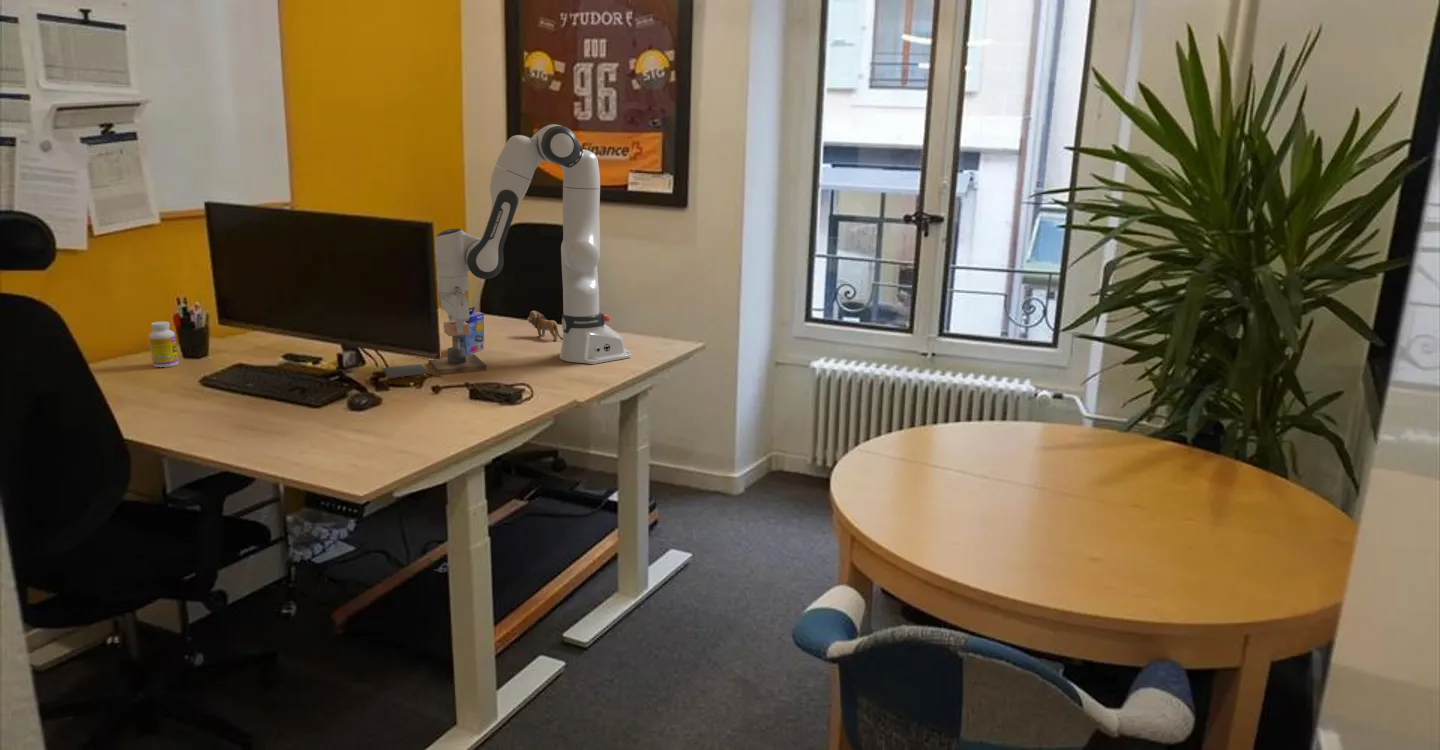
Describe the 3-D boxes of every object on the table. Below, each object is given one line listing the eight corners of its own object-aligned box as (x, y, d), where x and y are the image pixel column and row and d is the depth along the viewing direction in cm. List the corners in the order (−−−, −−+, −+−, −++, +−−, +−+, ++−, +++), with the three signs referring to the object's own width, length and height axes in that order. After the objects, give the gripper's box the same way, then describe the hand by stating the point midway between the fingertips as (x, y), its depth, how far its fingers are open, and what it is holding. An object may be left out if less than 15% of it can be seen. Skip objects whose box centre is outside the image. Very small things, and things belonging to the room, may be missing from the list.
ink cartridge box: (466, 355, 301) (464, 310, 297) (452, 353, 303) (450, 308, 299) (486, 349, 310) (484, 305, 306) (472, 347, 312) (469, 303, 308)
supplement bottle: (178, 367, 282) (172, 324, 278) (152, 369, 279) (146, 326, 275) (179, 361, 287) (173, 319, 284) (153, 363, 285) (147, 321, 281)
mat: (421, 365, 289) (421, 363, 288) (429, 374, 279) (428, 372, 279) (383, 369, 283) (383, 367, 283) (389, 378, 274) (389, 377, 274)
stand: (474, 358, 297) (472, 327, 295) (486, 369, 286) (484, 337, 283) (428, 363, 291) (426, 331, 288) (438, 374, 279) (436, 341, 276)
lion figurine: (525, 337, 327) (524, 311, 324) (535, 334, 331) (534, 308, 329) (559, 342, 320) (558, 316, 317) (569, 339, 324) (568, 313, 322)
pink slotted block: (464, 330, 290) (463, 320, 289) (469, 334, 284) (468, 324, 284) (444, 332, 287) (443, 322, 286) (449, 336, 282) (448, 326, 281)
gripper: (472, 289, 274) (476, 336, 278) (455, 278, 292) (459, 322, 295) (450, 291, 271) (454, 338, 275) (434, 280, 289) (438, 324, 292)
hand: (456, 330), depth 285 cm, fingers closed on pink slotted block, 6 cm apart
